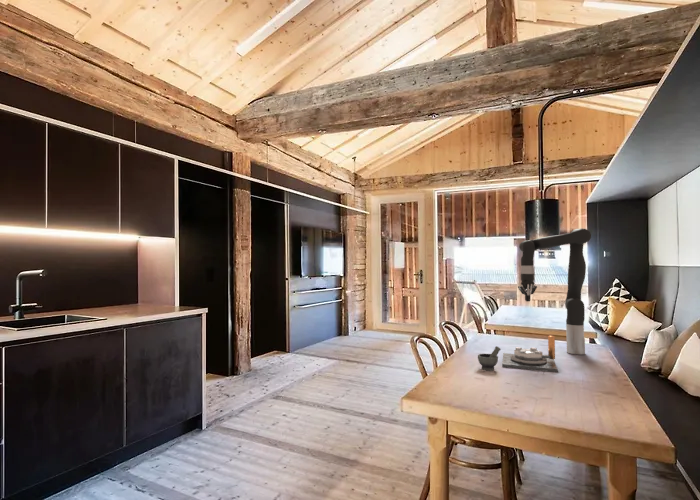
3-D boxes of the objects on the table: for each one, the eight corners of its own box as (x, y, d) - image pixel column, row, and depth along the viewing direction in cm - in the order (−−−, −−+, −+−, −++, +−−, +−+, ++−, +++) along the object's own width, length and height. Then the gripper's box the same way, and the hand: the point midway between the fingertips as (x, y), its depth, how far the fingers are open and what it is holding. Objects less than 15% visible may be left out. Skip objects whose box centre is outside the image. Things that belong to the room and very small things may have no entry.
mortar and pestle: (478, 370, 198) (477, 347, 198) (477, 366, 207) (477, 343, 207) (501, 372, 195) (501, 348, 195) (500, 367, 204) (499, 344, 204)
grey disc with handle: (518, 360, 206) (518, 337, 207) (511, 354, 220) (511, 333, 220) (559, 361, 203) (559, 338, 203) (550, 355, 217) (549, 333, 217)
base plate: (553, 359, 219) (552, 354, 219) (557, 372, 195) (557, 366, 195) (503, 355, 229) (503, 350, 229) (502, 366, 205) (502, 361, 205)
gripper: (522, 273, 233) (523, 302, 233) (540, 273, 237) (541, 301, 237) (514, 273, 240) (514, 301, 240) (531, 272, 244) (532, 300, 244)
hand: (527, 301), depth 238 cm, fingers closed
